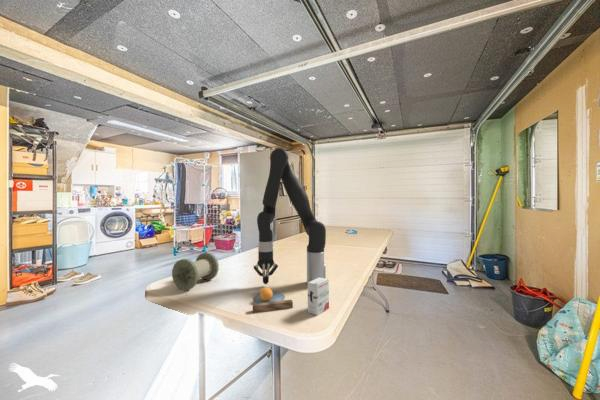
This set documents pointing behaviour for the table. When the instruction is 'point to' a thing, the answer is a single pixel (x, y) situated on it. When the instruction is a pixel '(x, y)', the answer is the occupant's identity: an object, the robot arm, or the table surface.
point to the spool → (194, 270)
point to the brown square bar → (272, 306)
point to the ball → (266, 294)
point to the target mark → (275, 297)
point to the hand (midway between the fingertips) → (265, 283)
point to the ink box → (318, 295)
